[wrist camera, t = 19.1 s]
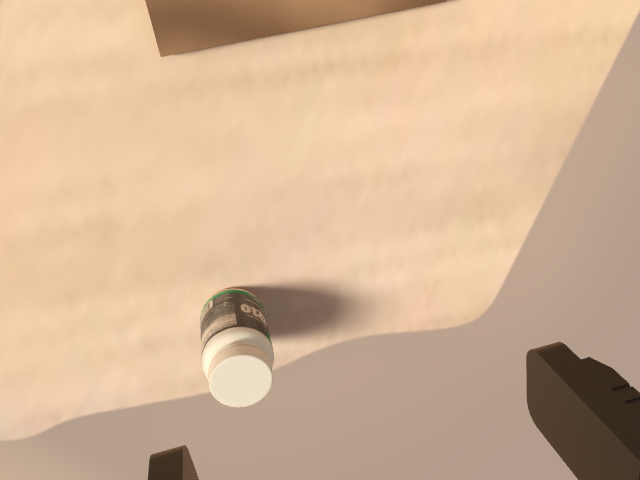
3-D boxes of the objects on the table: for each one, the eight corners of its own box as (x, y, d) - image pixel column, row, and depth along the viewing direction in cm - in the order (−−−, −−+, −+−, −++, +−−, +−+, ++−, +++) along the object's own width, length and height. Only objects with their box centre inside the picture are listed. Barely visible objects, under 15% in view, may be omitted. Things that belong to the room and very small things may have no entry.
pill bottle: (273, 324, 45) (290, 394, 37) (216, 349, 44) (223, 424, 37) (248, 275, 42) (261, 339, 35) (188, 302, 42) (189, 371, 35)
